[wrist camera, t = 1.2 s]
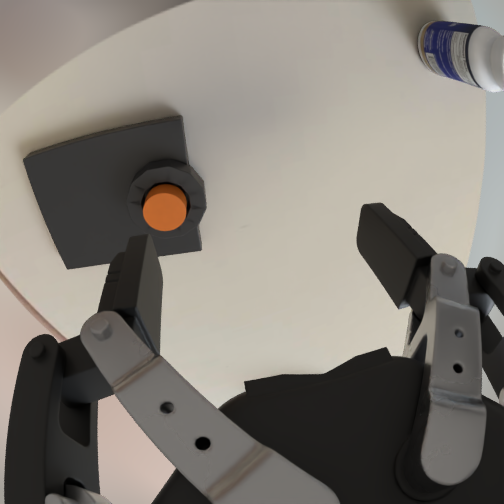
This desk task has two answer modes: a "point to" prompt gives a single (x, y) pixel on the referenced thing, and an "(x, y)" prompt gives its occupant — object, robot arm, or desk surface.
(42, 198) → the scale
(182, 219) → the button
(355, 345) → the desk surface
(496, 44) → the pill bottle
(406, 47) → the desk surface
